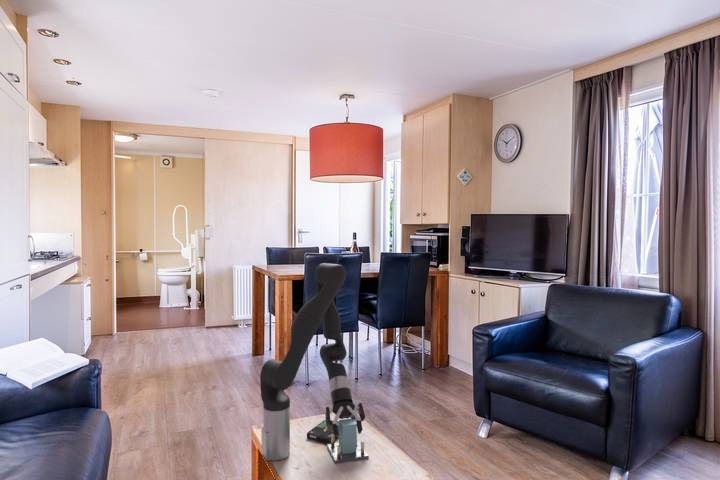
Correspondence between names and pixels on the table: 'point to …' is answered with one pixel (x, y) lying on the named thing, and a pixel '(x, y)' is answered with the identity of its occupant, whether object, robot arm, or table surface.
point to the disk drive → (322, 432)
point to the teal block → (347, 435)
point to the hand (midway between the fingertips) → (348, 434)
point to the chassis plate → (339, 457)
